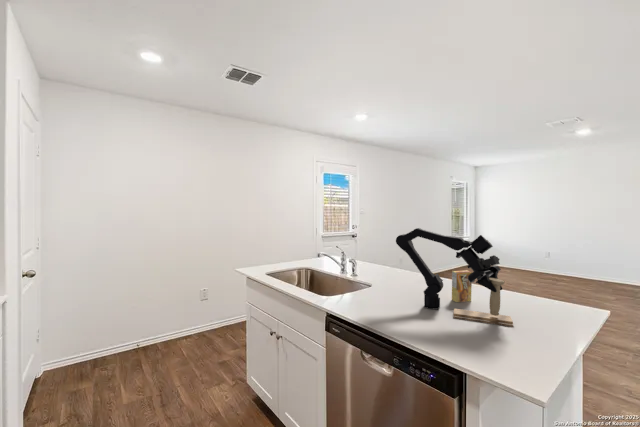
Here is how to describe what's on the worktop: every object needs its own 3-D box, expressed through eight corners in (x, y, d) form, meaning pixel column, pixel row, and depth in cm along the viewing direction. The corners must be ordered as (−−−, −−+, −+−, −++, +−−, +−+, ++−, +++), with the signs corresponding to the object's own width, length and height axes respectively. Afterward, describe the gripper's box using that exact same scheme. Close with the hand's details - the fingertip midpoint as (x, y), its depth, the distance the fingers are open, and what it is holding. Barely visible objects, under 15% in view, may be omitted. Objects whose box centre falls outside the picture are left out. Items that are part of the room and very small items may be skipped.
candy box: (466, 298, 155) (466, 270, 154) (471, 301, 151) (472, 271, 150) (451, 300, 153) (451, 270, 153) (456, 302, 149) (457, 272, 148)
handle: (495, 317, 121) (496, 281, 120) (483, 312, 127) (485, 277, 127) (505, 317, 122) (507, 281, 121) (493, 311, 128) (495, 277, 128)
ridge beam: (453, 318, 128) (453, 314, 128) (454, 310, 137) (454, 307, 137) (513, 327, 118) (513, 323, 118) (509, 318, 127) (509, 315, 127)
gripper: (475, 251, 122) (503, 283, 113) (496, 247, 132) (523, 277, 124) (456, 266, 128) (482, 298, 120) (478, 262, 139) (503, 291, 130)
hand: (498, 290), depth 123 cm, fingers closed on handle, 5 cm apart
